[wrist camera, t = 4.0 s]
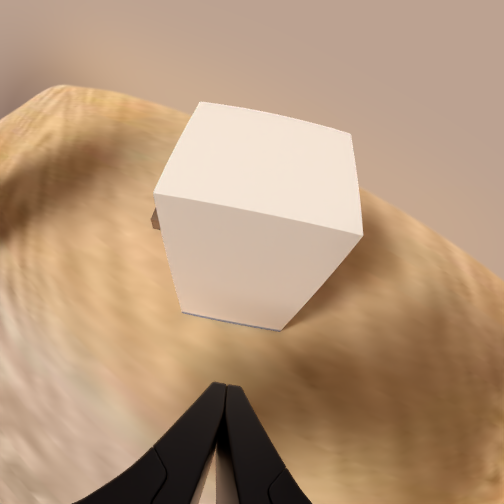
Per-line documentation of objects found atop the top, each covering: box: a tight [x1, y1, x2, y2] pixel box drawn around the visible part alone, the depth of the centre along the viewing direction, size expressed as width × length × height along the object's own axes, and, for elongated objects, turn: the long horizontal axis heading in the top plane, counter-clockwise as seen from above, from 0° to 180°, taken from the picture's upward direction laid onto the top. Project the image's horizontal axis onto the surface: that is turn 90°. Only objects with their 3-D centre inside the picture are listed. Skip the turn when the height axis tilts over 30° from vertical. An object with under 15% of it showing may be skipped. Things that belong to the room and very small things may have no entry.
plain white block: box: [153, 102, 363, 332], centre depth 13 cm, size 4×6×10 cm
